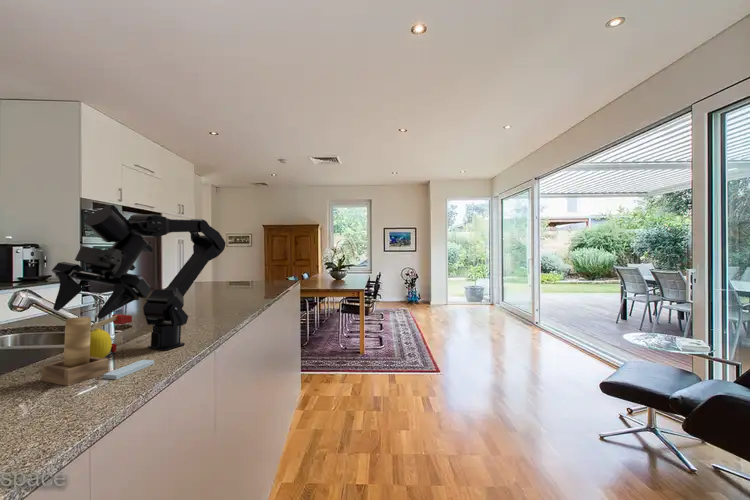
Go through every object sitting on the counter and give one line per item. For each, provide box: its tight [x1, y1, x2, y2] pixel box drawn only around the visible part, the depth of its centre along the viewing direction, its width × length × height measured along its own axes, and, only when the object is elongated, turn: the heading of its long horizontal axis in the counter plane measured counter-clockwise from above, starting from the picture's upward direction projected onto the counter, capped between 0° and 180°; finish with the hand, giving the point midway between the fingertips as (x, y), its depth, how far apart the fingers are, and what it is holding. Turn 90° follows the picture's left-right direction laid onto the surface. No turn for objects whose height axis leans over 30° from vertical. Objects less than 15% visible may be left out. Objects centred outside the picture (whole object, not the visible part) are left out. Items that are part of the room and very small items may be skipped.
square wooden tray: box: [41, 356, 109, 387], centre depth 70 cm, size 8×8×3 cm
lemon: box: [90, 329, 113, 359], centre depth 79 cm, size 6×6×8 cm
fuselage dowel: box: [63, 316, 92, 368], centre depth 70 cm, size 4×4×11 cm
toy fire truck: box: [91, 313, 133, 356], centre depth 84 cm, size 3×14×10 cm, turn 162°
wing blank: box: [102, 359, 155, 380], centre depth 74 cm, size 10×3×1 cm, turn 173°
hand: (77, 313), depth 70 cm, fingers open, 9 cm apart
